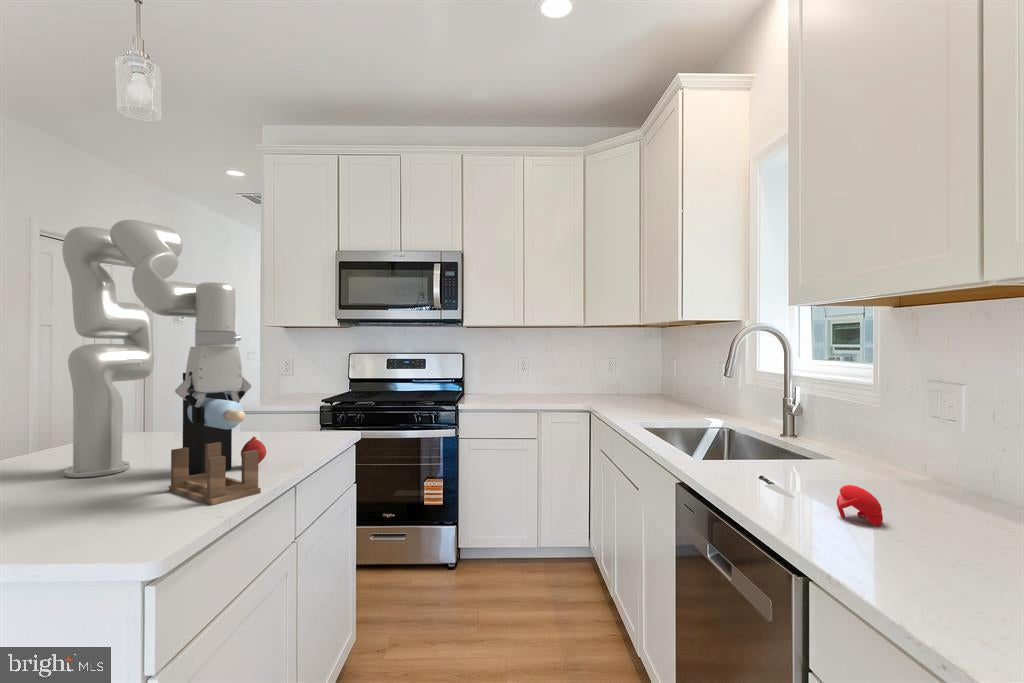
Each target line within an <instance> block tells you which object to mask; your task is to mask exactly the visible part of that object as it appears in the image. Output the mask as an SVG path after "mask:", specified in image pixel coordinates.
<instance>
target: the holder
mask: <svg viewBox="0 0 1024 683" xmlns="http://www.w3.org/2000/svg"><path fill="white" fill-rule="evenodd" d="M170 455H171V456H170V458H171V459H170V485H168V491H170V492H172V493H175V494H179V495H180V496H184V497H187V498H190V499H192V500H195V501H199V502H201V503H205V504H207V505H210V506H214V505H218V504H223V503H226V502H231V501H234V500H238V499H243V498H246V497H250V496H254V495H259V494H261V492H262V491H261V487H259V464H258V450H252V451H246V452H242V458H241V476H240V477H241V480H239V479H235V478H231V477H229V476H228V477H227V475H226V456H221V443H220V442H217V443H210V444H205V473H202V474H197V475H190V474H189V448H187V447H185V448H183V447H179V448H174V449H173V448H172V449H170Z"/></svg>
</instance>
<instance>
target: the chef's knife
mask: <svg viewBox="0 0 1024 683" xmlns="http://www.w3.org/2000/svg"><path fill="white" fill-rule="evenodd" d="M758 479H759V480H762V481H764V482H765V483H767V484H764V485H763V486H764V487H765V488H768V489H769V490H771V491H773V492H775V493H777V494H780V495H783V496H785V497H788V498H791V499H796V498H797V497H796V496H794V495H793V494H791V493H790V492H788V491H787V490H786V489H783V488H782V487H780V486H779V485H778V484H776V483H774V482H773V481H771V480H770V479H768V478H767V477H765V476H764V475H759V476H758Z"/></svg>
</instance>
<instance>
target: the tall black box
mask: <svg viewBox="0 0 1024 683" xmlns="http://www.w3.org/2000/svg"><path fill="white" fill-rule="evenodd" d="M185 377H186V372H182V383H183V382H184V381H185ZM187 392H188V391H187ZM188 393H189V394H190V395H193V392H188ZM205 398H213V399H221V400H227V398H226V395H225V393H224V392H218V393H206V396H205ZM189 406H190V405H189V404H188V403H187V402H186V401H185V400H184V399H183V398H182V448H185V447H187V448H189V475H190V476H192V475H197V474H202V473H205V444H210V443H217V442H220V443H221V456H226V471H230V470H232V461H233V460H232V456H233V454H232V453H233V450H232V447H233V446H232V445H233V444H232V441H233V440H232V438H233V437H232V436H233V432H232V431H233V428H232V429H221V428H215V427H209V426H204V425H203V426H196V425H194V424H193V422H192V421H191V420H190V419H189V417H188V411H187V409H188V407H189Z"/></svg>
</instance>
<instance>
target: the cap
mask: <svg viewBox="0 0 1024 683" xmlns="http://www.w3.org/2000/svg"><path fill="white" fill-rule="evenodd" d="M836 507H837V510H838V512H839V515H840V517H841V518H842V519H846V514H845V511H844V509H846V508H849V507H853V508H854V509H856V510H858V512H857V513H856V516H858V517H862V516H863V517H865V518H866V520H867V521H868V522H869V523H870V524H871V525H873V526H875V527H881V525H882V524H883V521H884V520H883V519H884V518H883V517H884V516H883V510H882V505H881V503H880V502H879V500H878V499H877V497H875V496H874V495H873V494H872V493H870V492H869V491H867V489H864V488H863V487H861V486H858V485H852V484H846V485H843V486H841V488H839V494H838V496H837V498H836Z"/></svg>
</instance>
